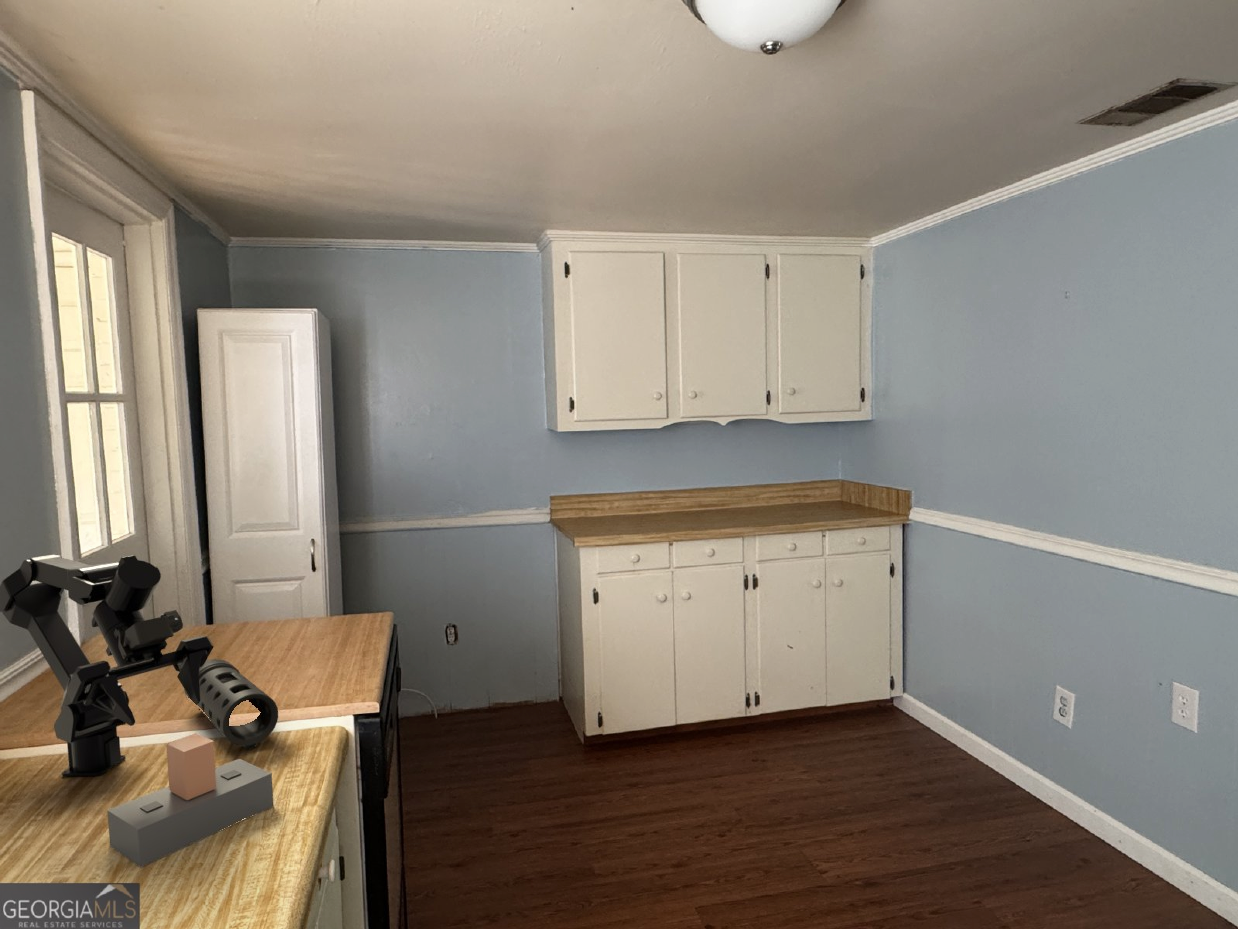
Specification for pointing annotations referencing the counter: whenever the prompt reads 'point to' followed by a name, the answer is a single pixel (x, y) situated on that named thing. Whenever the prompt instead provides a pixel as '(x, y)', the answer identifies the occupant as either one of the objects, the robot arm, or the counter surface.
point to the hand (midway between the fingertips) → (166, 713)
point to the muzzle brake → (234, 703)
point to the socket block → (188, 813)
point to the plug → (191, 766)
